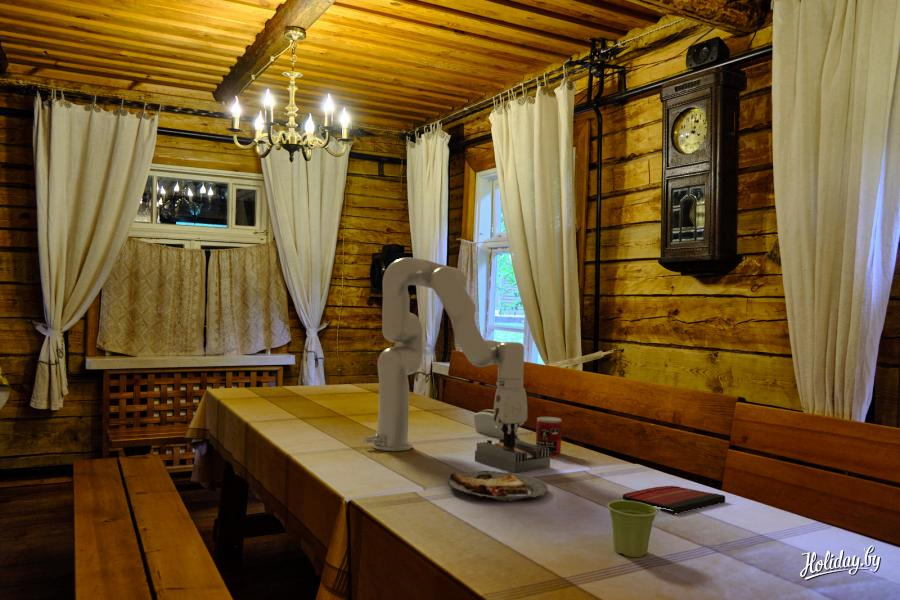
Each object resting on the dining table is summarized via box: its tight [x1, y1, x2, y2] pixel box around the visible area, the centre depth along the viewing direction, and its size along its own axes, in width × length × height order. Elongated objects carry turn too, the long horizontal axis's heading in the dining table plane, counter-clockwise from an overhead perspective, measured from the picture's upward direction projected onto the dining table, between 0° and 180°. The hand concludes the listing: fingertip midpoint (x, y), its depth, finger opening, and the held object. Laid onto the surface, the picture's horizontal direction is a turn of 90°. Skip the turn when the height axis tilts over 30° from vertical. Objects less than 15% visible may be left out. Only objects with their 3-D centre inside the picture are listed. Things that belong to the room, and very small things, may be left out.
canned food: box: [535, 416, 563, 457], centre depth 221 cm, size 8×8×11 cm
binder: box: [622, 485, 726, 514], centre depth 174 cm, size 16×2×21 cm
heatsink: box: [474, 438, 551, 474], centre depth 205 cm, size 14×17×6 cm
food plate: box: [447, 470, 548, 502], centre depth 177 cm, size 25×23×4 cm
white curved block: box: [473, 409, 519, 439], centre depth 249 cm, size 17×5×10 cm, turn 41°
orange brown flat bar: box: [494, 442, 531, 456], centre depth 205 cm, size 3×12×1 cm, turn 39°
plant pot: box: [607, 499, 659, 558], centre depth 136 cm, size 9×9×9 cm
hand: (509, 446), depth 207 cm, fingers closed
